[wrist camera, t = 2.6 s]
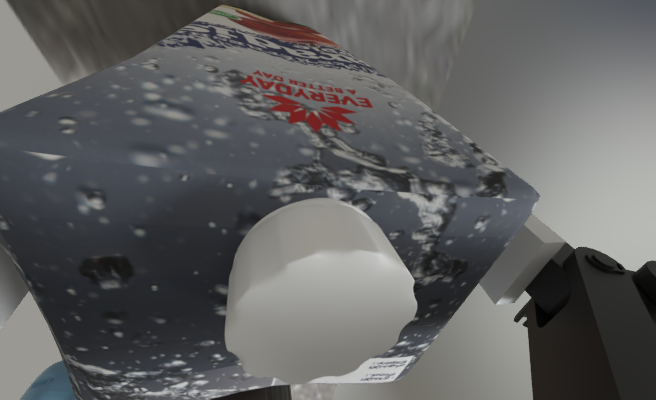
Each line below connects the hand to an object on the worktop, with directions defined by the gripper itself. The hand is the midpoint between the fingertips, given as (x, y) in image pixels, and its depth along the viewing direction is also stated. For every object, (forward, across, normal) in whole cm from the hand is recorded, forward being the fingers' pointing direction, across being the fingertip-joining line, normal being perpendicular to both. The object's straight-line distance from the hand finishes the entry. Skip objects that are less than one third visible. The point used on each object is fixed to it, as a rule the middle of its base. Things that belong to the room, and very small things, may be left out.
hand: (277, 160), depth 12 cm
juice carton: (+19, 0, 0) cm, 19 cm away
